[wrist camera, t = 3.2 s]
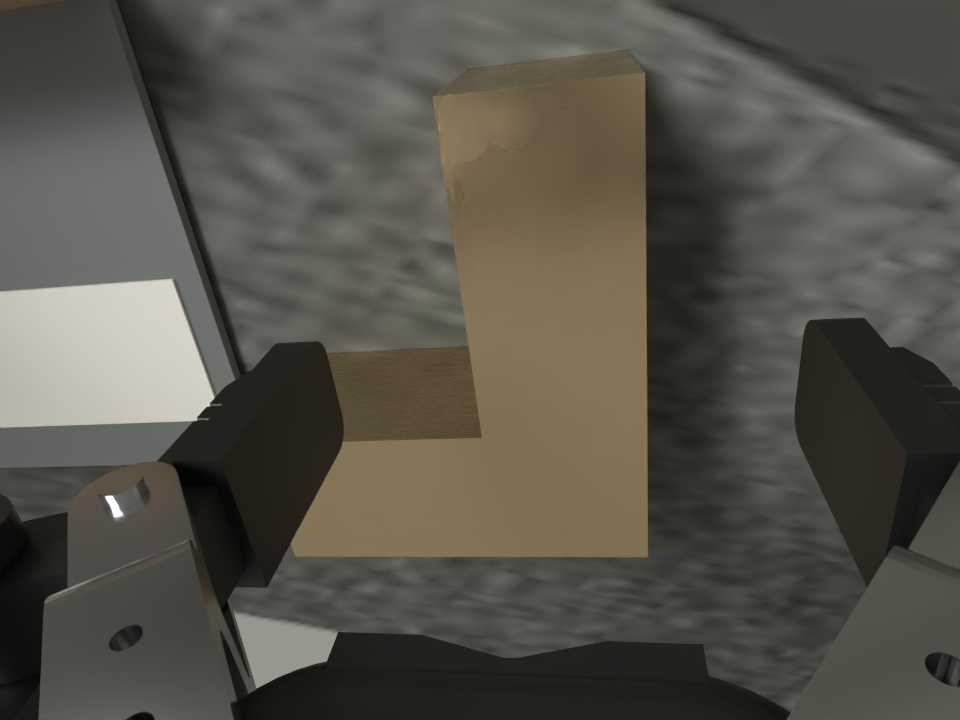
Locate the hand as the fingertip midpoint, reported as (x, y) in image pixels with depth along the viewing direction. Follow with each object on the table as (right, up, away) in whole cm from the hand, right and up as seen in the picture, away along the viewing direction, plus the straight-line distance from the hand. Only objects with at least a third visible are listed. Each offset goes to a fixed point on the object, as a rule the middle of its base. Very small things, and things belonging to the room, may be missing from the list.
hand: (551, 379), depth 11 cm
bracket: (-2, +3, +9) cm, 9 cm away
